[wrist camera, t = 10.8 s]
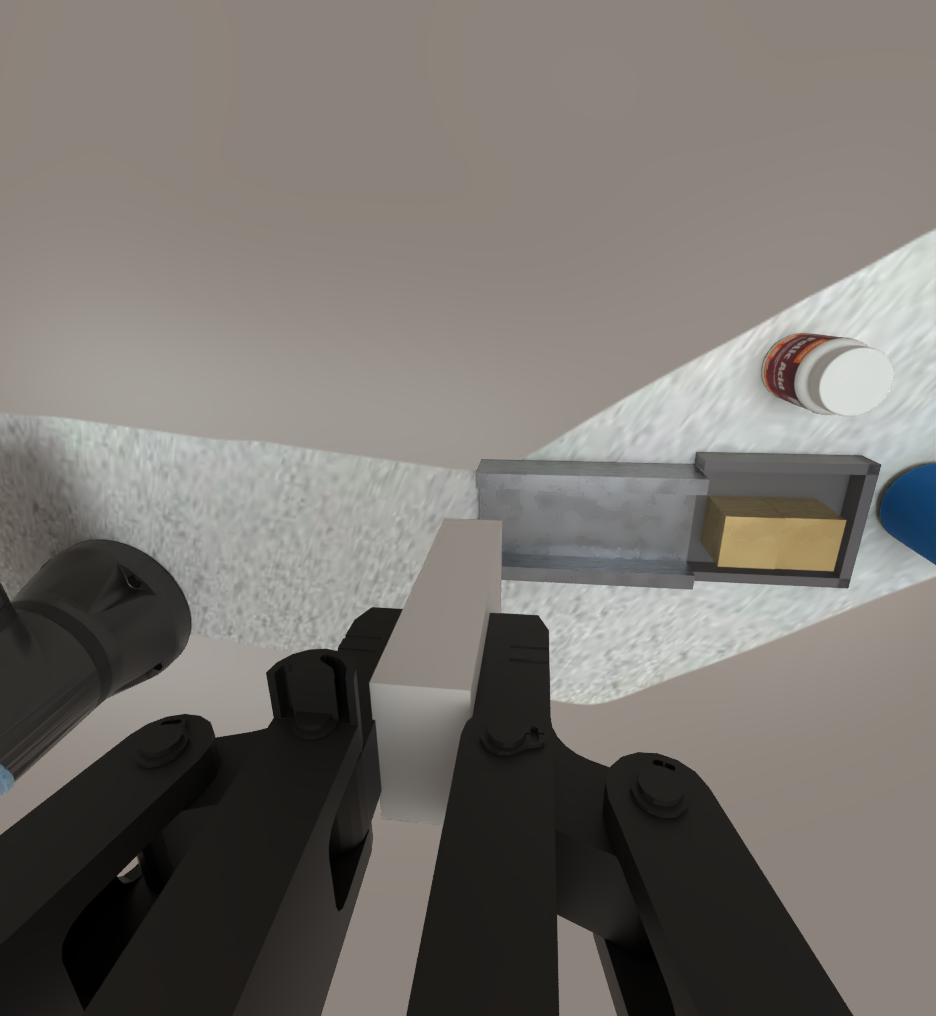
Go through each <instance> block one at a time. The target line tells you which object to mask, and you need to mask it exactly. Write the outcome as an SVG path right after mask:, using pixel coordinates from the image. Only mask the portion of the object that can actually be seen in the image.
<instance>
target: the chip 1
mask: <svg viewBox="0 0 936 1016" xmlns="http://www.w3.org/2000/svg"><path fill="white" fill-rule="evenodd" d="M784 523H785V518H784V517H783V516H782V515H781V514H780V513H779V512H777V511H776V510H775V509H774V508H773V507H772V506H771V505H769V504H768V503H767V502H766V501H765V500H764V499H763V498H762V497H732V496H708V499H707V506H706V512H705V519H704V525H703V532H702V538H701V543H702V544H703V546H704V547H705V549H706V550H707V552H708V553H709V555H710V556H711V558H712V559H713V561H714V562H715V564H716V565H717V566H718V567H739V568H760V569H775V565H776V561H777V556H778V551H779V546H780V542H781V537H782V532H783V528H784Z"/></svg>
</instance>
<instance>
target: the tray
mask: <svg viewBox="0 0 936 1016" xmlns="http://www.w3.org/2000/svg"><path fill="white" fill-rule="evenodd" d="M695 465H696V466H697V467H698V468H699V469H700V470H701V471H702V472H703V473H704V474H705V475H706V477H707V478H708V479H709V486H708V492H707V495H696V501H695V508H694V514H693V521H692V528H691V535H690V542H689V549H688V556H687V563H688V565H689V567H690V568H691V570H692V572H693V574H694V576H695V577H694V581H710V582H730V583H751V584H771V585H791V586H812V587H832V588H848V587H849V583H850V579H851V576H852V572H853V568H854V564H855V561H856V557H857V553H858V550H859V546H860V542H861V538H862V535H863V531H864V527H865V523H866V520H867V516H868V512H869V509H870V505H871V501H872V497H873V494H874V490H875V486H876V482H877V479H878V475H879V471H880V467H881V464H879V463H877V462H875V461H873V460H870V459H868V458H866V457H864V456H860V455H812V454H764V453H717V452H697V453H696V460H695ZM708 496H732V497H781V498H814V499H817V500H819V501H820V502H822V503H823V504H825V505H826V506H827V507H829V508H830V509H832V510H833V511H834V512H836V513H837V514H839V515H840V516H841V517H843V518H844V519H846V524H845V528H844V532H843V536H842V540H841V544H840V548H839V552H838V556H837V560H836V563H835V567H834V571H815V570H794V569H760V568H739V567H718V566H717V565H716V564H715V562H714V561H713V559H712V558H711V556H710V555H709V553H708V552H707V550H706V549H705V547H704V546H703V544H702V543H701V538H702V532H703V525H704V519H705V512H706V506H707V499H708Z"/></svg>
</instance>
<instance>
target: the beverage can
mask: <svg viewBox="0 0 936 1016" xmlns="http://www.w3.org/2000/svg"><path fill="white" fill-rule="evenodd" d="M880 517H881V522H882V524H883V526H884V528H885V529H886V531H887V532H888V533H889V534H890V535H892V536H893V537H894V538H896V539H897V540H899V541H900V542H902V543H903V544H905V545H906V546H908V547H909V548H911V549H912V550H914V551H915V552H917V553H918V554H920V555H921V556H923V557H924V558H926V559H928V560H929V561H931V562H932V563H934V564H935V565H936V463H935V464H928V465H923V466H920V467H917V468H915V469H912V470H910V471H908V472H907V473H905V474H903V475H902V476H901V477H899V478H898V479H897V480H896V481H895V482H894V483H893V484H892V485H891V486H890V487H889V489H888V490H887V491H886V493H885V495H884V497H883V500H882V502H881V507H880Z"/></svg>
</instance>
